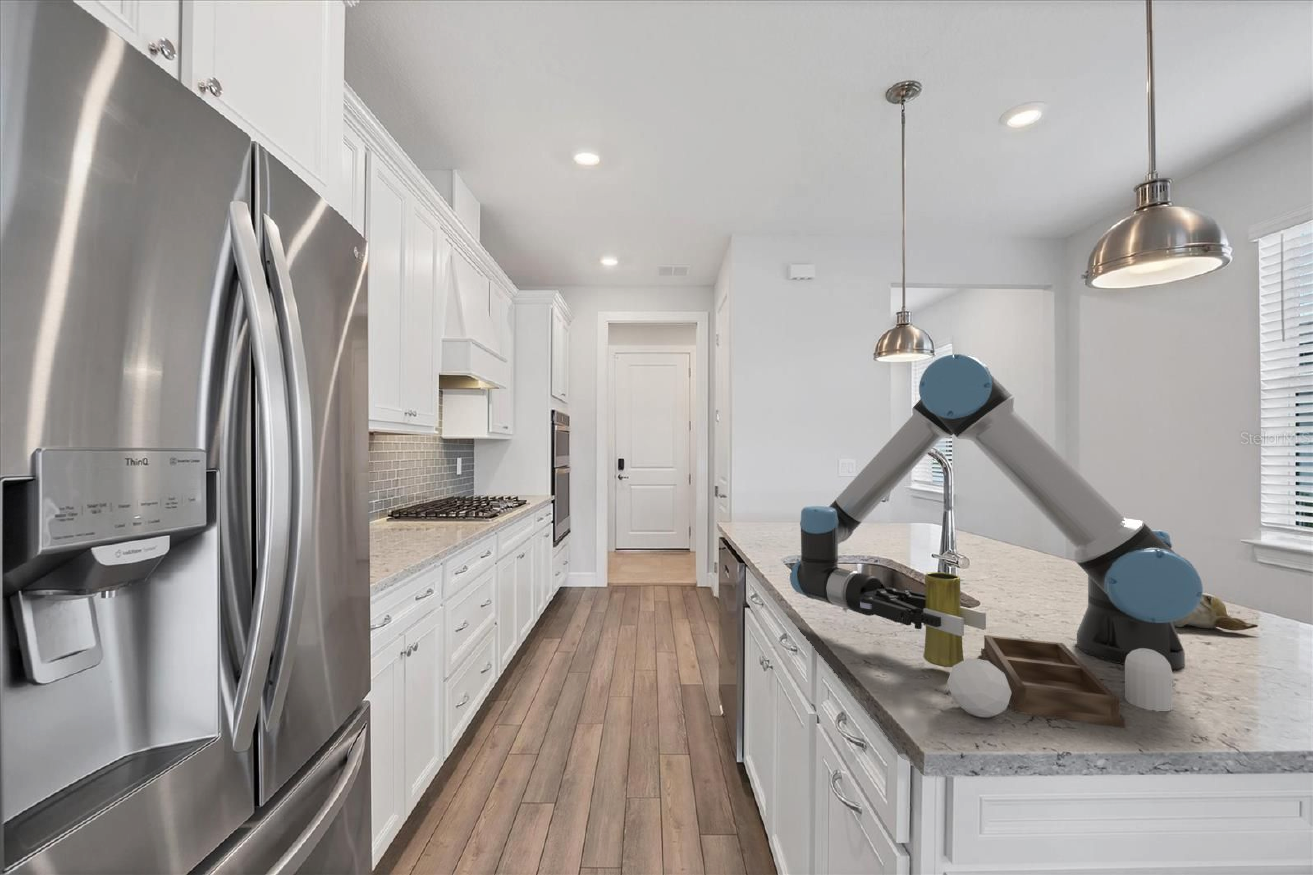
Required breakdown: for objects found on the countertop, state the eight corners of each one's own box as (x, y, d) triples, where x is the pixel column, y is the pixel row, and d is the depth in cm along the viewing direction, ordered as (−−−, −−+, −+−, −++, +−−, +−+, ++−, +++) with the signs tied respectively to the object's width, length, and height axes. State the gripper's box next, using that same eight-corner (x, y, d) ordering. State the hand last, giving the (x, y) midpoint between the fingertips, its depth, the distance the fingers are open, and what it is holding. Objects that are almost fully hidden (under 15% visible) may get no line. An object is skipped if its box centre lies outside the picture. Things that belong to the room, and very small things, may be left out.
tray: (1066, 664, 98) (1065, 643, 98) (1124, 727, 76) (1124, 700, 76) (981, 655, 102) (981, 634, 102) (1013, 711, 80) (1013, 685, 81)
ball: (996, 736, 79) (1034, 704, 75) (945, 718, 78) (981, 684, 74) (976, 689, 85) (1010, 657, 82) (929, 672, 85) (961, 639, 81)
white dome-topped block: (1181, 708, 82) (1180, 653, 82) (1158, 714, 80) (1158, 658, 80) (1139, 693, 87) (1138, 641, 87) (1116, 698, 85) (1116, 645, 85)
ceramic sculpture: (1141, 577, 125) (1218, 584, 123) (1139, 616, 125) (1215, 623, 123) (1178, 590, 114) (1263, 598, 112) (1176, 633, 114) (1260, 641, 112)
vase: (946, 670, 90) (945, 581, 91) (915, 657, 96) (914, 573, 96) (972, 664, 93) (971, 577, 93) (940, 651, 98) (939, 570, 99)
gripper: (887, 604, 115) (1005, 637, 94) (823, 618, 105) (938, 658, 85) (887, 567, 115) (1005, 592, 95) (822, 578, 105) (938, 609, 85)
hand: (973, 624), depth 90 cm, fingers closed on vase, 5 cm apart
